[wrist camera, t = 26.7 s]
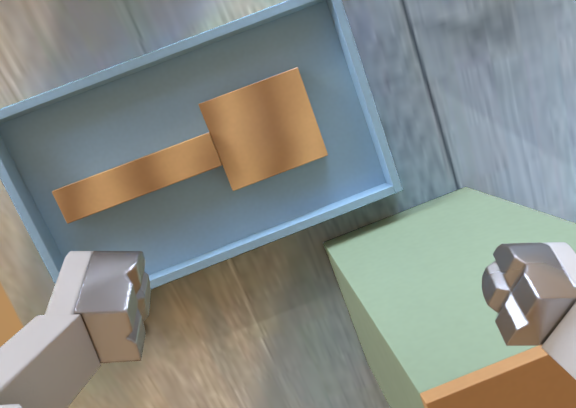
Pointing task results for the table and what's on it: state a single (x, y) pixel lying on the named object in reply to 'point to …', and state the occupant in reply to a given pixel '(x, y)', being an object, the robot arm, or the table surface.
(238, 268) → the table surface
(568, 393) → the plinth
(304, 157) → the paddle
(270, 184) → the tray
